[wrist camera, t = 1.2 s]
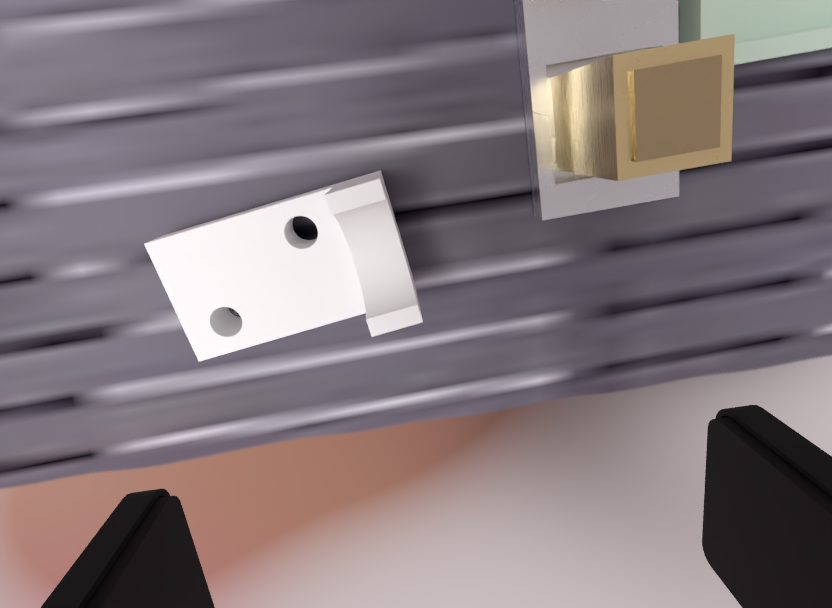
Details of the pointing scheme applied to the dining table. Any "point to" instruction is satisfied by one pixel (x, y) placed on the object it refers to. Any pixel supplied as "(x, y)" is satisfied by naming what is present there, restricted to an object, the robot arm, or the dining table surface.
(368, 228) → the bracket
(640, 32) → the white flat board
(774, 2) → the tray
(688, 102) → the wooden crate cube
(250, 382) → the dining table surface
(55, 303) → the dining table surface
